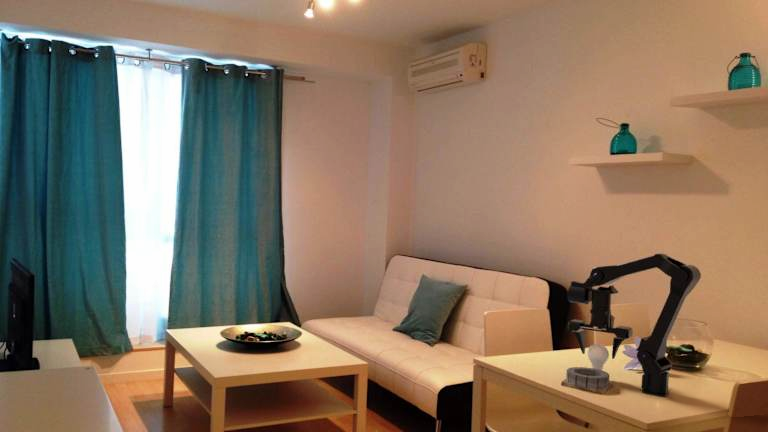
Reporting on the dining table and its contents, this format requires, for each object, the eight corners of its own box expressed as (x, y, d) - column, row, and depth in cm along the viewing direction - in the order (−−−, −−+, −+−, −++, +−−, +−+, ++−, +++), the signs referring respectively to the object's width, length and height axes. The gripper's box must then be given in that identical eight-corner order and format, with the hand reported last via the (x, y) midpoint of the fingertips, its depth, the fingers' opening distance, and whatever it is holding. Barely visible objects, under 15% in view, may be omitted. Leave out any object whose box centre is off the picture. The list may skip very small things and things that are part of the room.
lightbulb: (604, 376, 210) (606, 342, 210) (609, 382, 204) (611, 346, 203) (584, 375, 210) (586, 341, 210) (588, 380, 204) (590, 345, 204)
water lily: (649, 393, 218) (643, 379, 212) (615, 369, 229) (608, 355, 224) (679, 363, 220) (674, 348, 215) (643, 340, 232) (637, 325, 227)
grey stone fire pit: (613, 385, 200) (614, 372, 200) (602, 394, 190) (603, 380, 190) (573, 377, 207) (573, 364, 207) (560, 385, 197) (560, 372, 197)
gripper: (638, 307, 208) (635, 356, 208) (579, 300, 218) (576, 347, 219) (629, 311, 199) (626, 363, 199) (568, 303, 209) (565, 352, 209)
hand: (598, 356), depth 207 cm, fingers open, 9 cm apart
